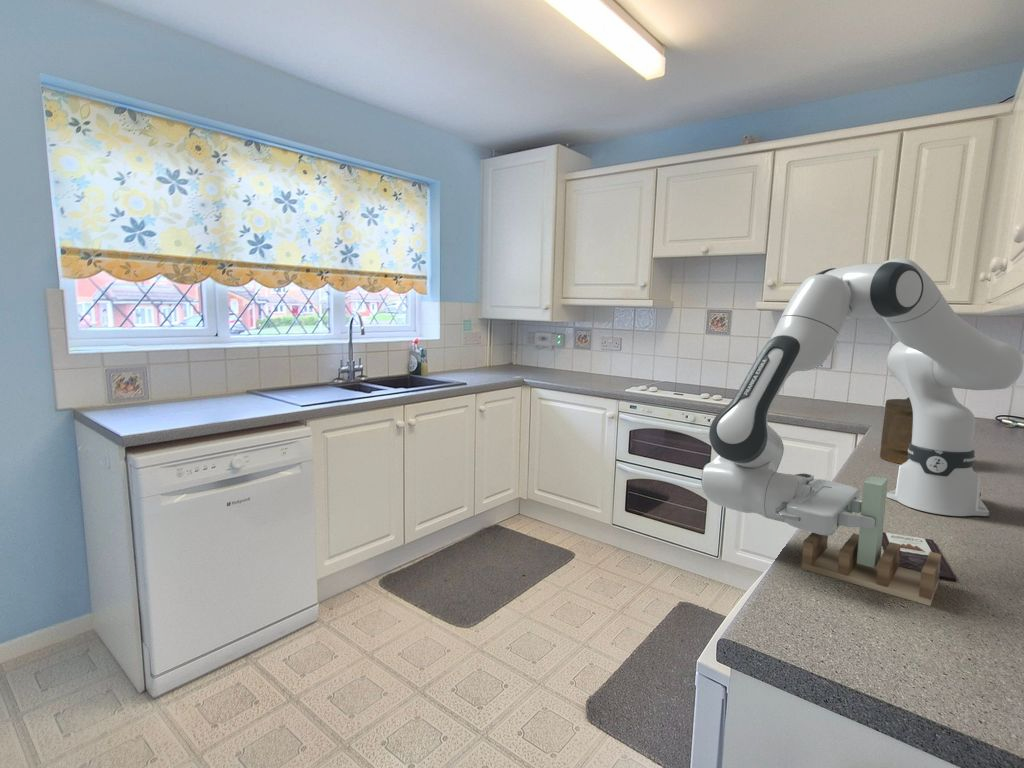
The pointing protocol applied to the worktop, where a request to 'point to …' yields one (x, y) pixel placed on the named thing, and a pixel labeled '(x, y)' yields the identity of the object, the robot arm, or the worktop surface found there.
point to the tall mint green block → (876, 507)
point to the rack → (872, 569)
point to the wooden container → (897, 430)
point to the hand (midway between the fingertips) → (879, 518)
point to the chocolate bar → (916, 553)
